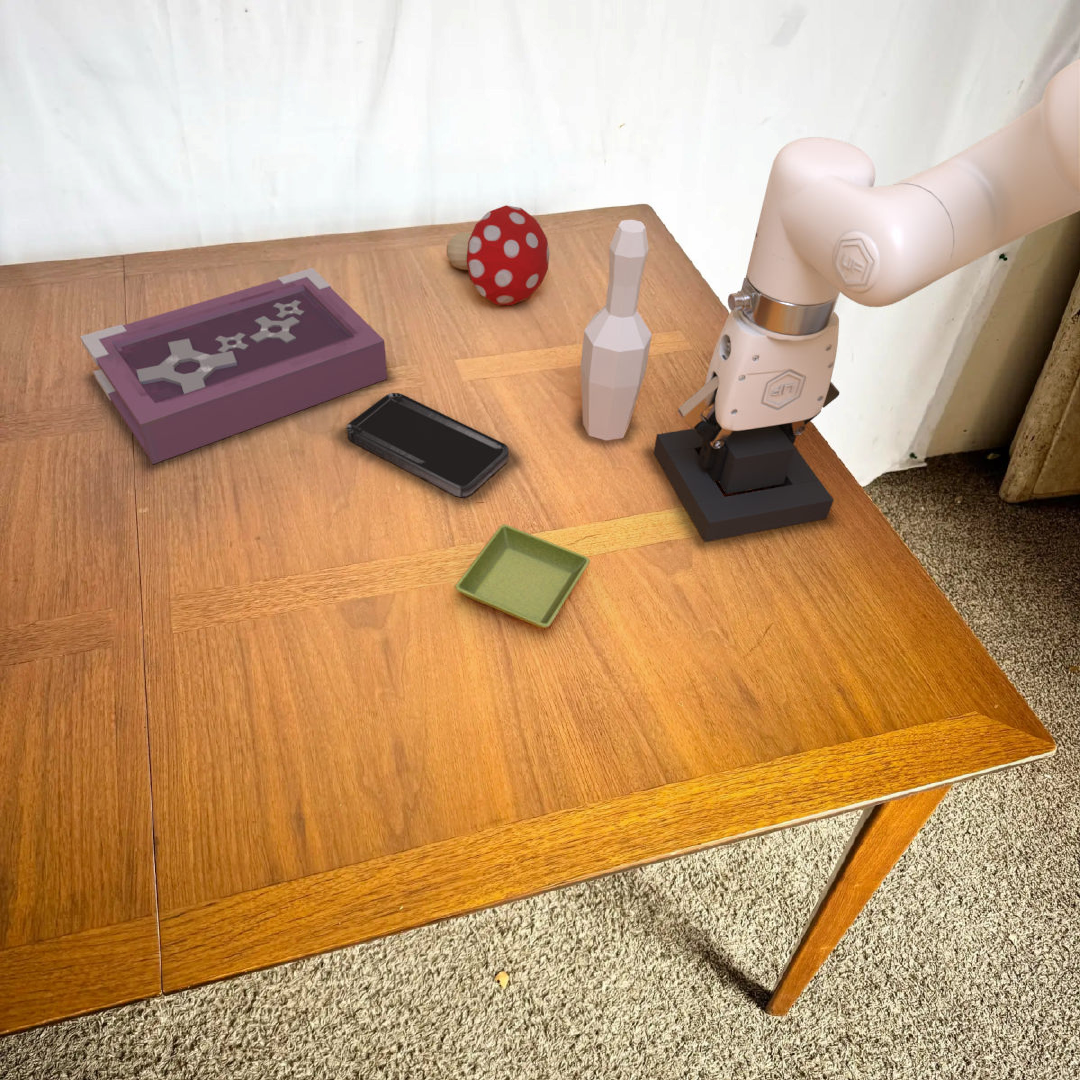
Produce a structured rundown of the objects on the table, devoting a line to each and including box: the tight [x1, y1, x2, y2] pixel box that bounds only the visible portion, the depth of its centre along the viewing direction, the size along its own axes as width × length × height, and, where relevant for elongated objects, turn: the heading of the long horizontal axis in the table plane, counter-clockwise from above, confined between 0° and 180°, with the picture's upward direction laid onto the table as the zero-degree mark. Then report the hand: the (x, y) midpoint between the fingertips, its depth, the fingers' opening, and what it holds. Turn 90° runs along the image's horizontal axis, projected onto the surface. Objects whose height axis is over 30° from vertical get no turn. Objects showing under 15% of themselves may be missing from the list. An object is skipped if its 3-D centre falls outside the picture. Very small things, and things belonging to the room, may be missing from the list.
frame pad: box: [653, 428, 834, 543], centre depth 92 cm, size 13×13×2 cm
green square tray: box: [454, 523, 591, 629], centre depth 81 cm, size 9×9×2 cm
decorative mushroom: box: [446, 204, 551, 307], centre depth 113 cm, size 11×11×15 cm
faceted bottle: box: [580, 219, 653, 441], centre depth 90 cm, size 6×6×22 cm
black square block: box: [716, 423, 796, 495], centre depth 90 cm, size 6×6×4 cm
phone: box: [346, 392, 510, 498], centre depth 94 cm, size 8×1×15 cm
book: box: [79, 267, 388, 465], centre depth 99 cm, size 25×16×5 cm, turn 126°
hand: (742, 464), depth 91 cm, fingers closed on black square block, 6 cm apart
